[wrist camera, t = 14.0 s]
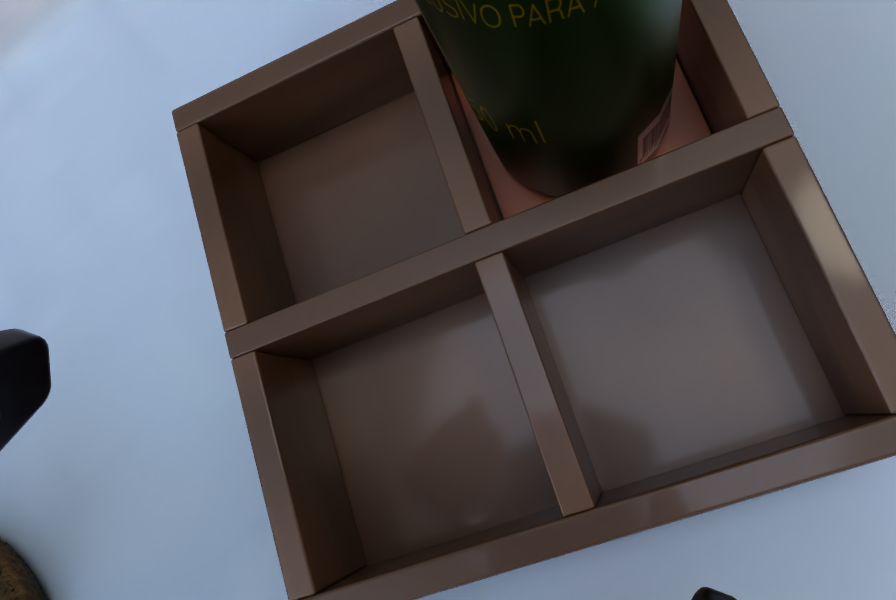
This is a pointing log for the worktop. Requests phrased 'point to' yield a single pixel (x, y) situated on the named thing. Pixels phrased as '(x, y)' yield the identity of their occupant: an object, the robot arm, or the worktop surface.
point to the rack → (520, 314)
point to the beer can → (563, 81)
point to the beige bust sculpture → (16, 577)
